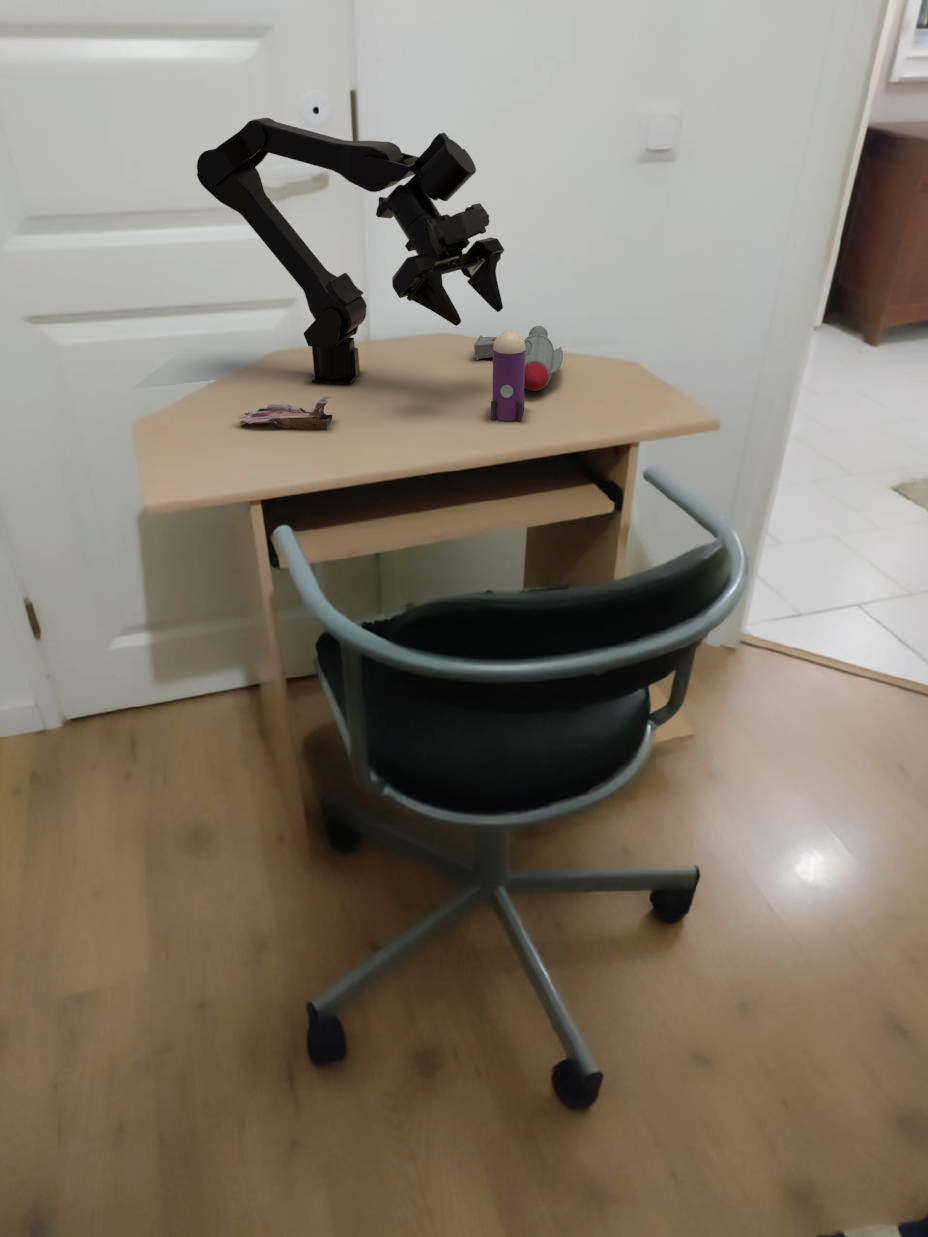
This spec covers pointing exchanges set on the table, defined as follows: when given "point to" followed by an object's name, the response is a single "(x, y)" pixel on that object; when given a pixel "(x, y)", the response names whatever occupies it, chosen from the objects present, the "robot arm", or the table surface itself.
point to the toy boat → (291, 415)
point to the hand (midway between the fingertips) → (480, 316)
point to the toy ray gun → (530, 357)
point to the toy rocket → (508, 377)
